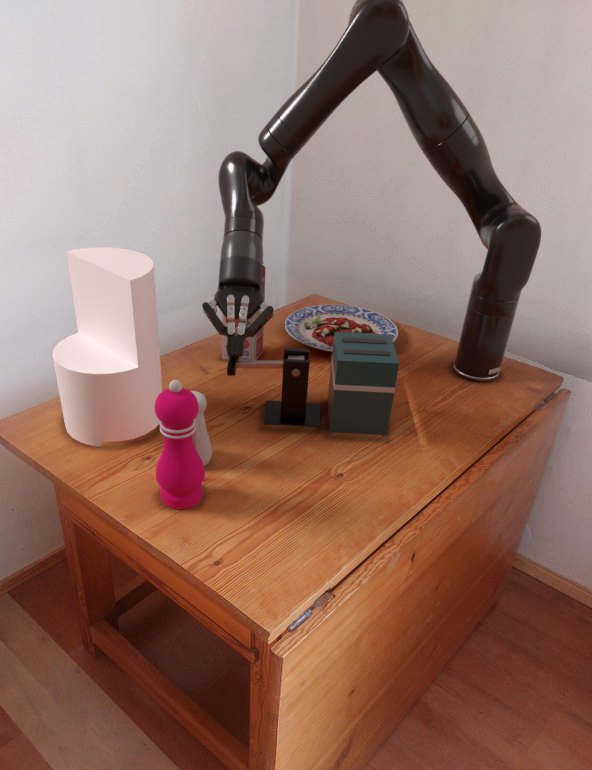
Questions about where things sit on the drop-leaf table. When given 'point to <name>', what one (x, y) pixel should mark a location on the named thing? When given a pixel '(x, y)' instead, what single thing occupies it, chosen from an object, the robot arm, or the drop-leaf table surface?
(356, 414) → the toaster
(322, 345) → the ceramic plate
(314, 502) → the drop-leaf table surface
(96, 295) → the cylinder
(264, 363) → the lever
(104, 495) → the drop-leaf table surface
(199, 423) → the salt shaker
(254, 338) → the juice carton
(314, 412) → the bracket
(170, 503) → the pepper mill
